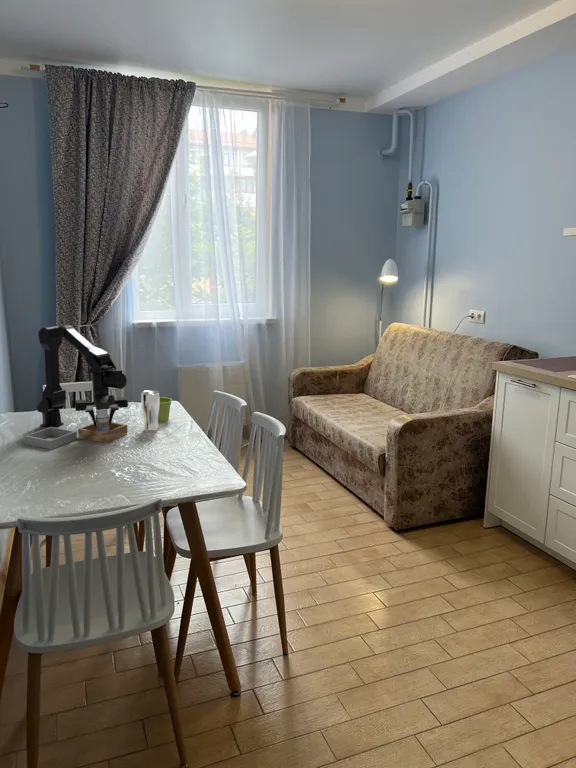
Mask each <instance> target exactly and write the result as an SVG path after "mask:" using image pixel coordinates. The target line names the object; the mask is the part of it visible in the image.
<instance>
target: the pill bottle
mask: <svg viewBox="0 0 576 768" xmlns="http://www.w3.org/2000/svg"><path fill="white" fill-rule="evenodd" d="M95 410H96V411H95V412H96V415H95V420H96V430H97V432H103V433H104V432H108V431H109V412H108V411H109V410H108V409H101V410H97V409H95Z"/></svg>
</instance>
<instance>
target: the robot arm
mask: <svg viewBox="0 0 576 768" xmlns="http://www.w3.org/2000/svg"><path fill="white" fill-rule="evenodd" d="M63 338H64V339H65V340H66V341H67V342H68V343H69V344H71V345H72V346H73V347H74V348H75V349H76V350H77V351H79V352H80V353H81V354H82V355H83V357H84V360H85V362H86V364H88V366H89V367H90V368H89V369H88V370H87V374H91V381H92V397H93V398H92V399H93V401H87V400H86V399H77V400H74V407H75V411H76V412H80V411H81V412H83V411H85V413H88V414H89V415H90V418H91V419H92V422H93V423H94V425H95V427H96V415H95V410H101V409H107V410H108V411H109V412H108V415H109V425H111V422H113V417H114V415H115V413H116V411H118V410H120V409H121V408H128V407H129V402H128V401H129V400H128V399H127V397H126V396H122V397H121V396H119V397H117V396H116V397H115V394H113V395H112V394H111V395H110V388H112V389H119V390H122V389H124V388H125V387H126V385H127V382H128V381H127V380H128V379H127V377H126V375H125V374H124V373H123V370H122V369H119V370H118V369H117V367H116V365H115V363H114V361H113V360H112V358H111V356H110V354H109V353H108V352H107V351H106V350H104V349H102V348H100V347H96V346H95V345H93V344H92V343H91V342H89V340H87V339H86V338H85V337H84V336H82V334H80V333H79V332H78V331H77V330H76V329H75V328H74V326H73V325H70V324H67V325H66V324H65V325H61V326H58V325H53V326H45V327H42V328H40V329H39V330H38V340H39V344H40V346H41V347H42V348H43V350H44V364H45V365H44V366H45V367H44V368H45V387H44V389H43V392H42V394H41V401H40V402H39V403H38V405H37V406H36V410H37V412H38V413H41V414H42V423H40V424H39V426H40V427H44V428H49V427H55V428H57V427H60V426H62V425H64V424H65V423H64V422H62V415H61V410H62V409H64V406H65V403H66V400H67V391H66V389H63V388H62V386H61V385H60V384H61V382H60V381H61V380H60V379H61V378H60V360H59V359H60V358H59V349H60V347H61V345H62V343H63ZM94 407H95V410H94Z"/></svg>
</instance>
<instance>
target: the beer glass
mask: <svg viewBox="0 0 576 768" xmlns="http://www.w3.org/2000/svg"><path fill="white" fill-rule="evenodd" d="M159 397H160V391H158V390H144V391H141V400H140V401H141V404H140V405H141V410H142V415H143V419H144V420H143V421H144V423H143V424H144V425H143V431H145V432H156V431H159V430H160V425H159V422H158V415H159V407H160V400H159Z"/></svg>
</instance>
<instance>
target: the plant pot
mask: <svg viewBox="0 0 576 768" xmlns="http://www.w3.org/2000/svg"><path fill="white" fill-rule="evenodd" d="M159 400H160V407H159V415H158V423H162V422H168V421H169V420H170V419H169V418H170V413H171V412H170V410H171V406H172V405H171V404H172V402H173V399H172V398H170V397H163V396H162V397H160V396H159Z"/></svg>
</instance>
